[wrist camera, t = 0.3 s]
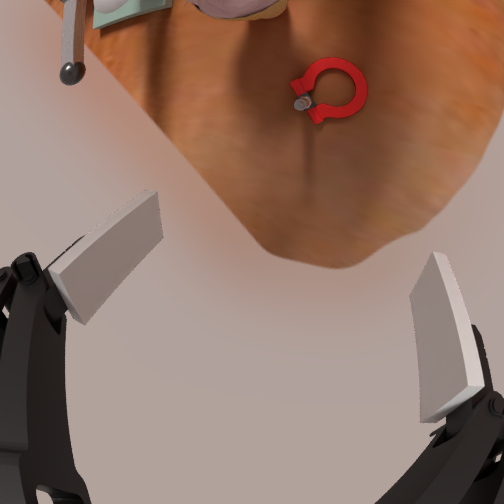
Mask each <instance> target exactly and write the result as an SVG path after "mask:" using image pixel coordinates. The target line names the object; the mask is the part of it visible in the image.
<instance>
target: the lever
mask: <svg viewBox="0 0 504 504" xmlns="http://www.w3.org/2000/svg"><path fill="white" fill-rule="evenodd" d="M61 1H62V2H63V3H65V6H64V15H63V29H62V50H61V52H62V53H61V65H62V66H61V70H60V80H61V82H62V83H64V84H65V85H74V84H77V83H78V82H79V81H81V80H82V78H83V77H84V74H85V71H86V68H85V65H84V30H85V16H86V5H87V0H61Z"/></svg>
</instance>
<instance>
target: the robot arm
mask: <svg viewBox="0 0 504 504" xmlns="http://www.w3.org/2000/svg"><path fill="white" fill-rule="evenodd" d="M162 239H163V232H162V224H161V217H160V209H159V201H158V192H157V191H150V190H145V191H143V192H142V193H140V194H139V195H137V196H136V197H135V198H133V199H132V200H130V201H129V202H128V203H126V204H125V205H124V206H122V207H121V208H120V209H118V210H117V211H116V212H114V213H113V214H112V215H110V216H109V217H108V218H107V219H105V220H104V221H103V222H101V223H100V224H99V225H98V226H96V227H95V228H94V229H93V230H92V231H90V232H89V233H88V234H86V235H85V236H82V237H81V238H79V239H78V240H77V241H75V242H74V243H73V244H72V246H70V247H68V248H67V249H66V251H65V252H63V253H62V254H61V255H60V256H58V257H57V258H56V259H55V260H54V261H53V262H52V263H51V264H49V265H48V266H47V267H46V268H45V269H44V270H43V271H42V269H41V267H40V264H39V263H38V260H37V258H36V255H35V254H34V253H32V252H27V253H24V254H22V255H20V256H19V257H17V258H16V259H15V260H14V261H13V262H12V264H11V267H3V268H2V269H0V504H38V500H37V496H36V489H37V490H40V491H44V492H46V493H48V494H49V495H50V497H51V498H52V501H53V504H91V501H90V497H89V494H88V490H87V487H86V484H85V482H84V480H83V478H82V477H81V476H80V475H79V474H78V472H77V470H76V468H75V465H74V459H73V454H72V448H71V441H70V435H69V426H68V419H67V418H68V417H67V405H66V390H65V340H66V322H67V319H66V315H65V314H64V313H65V312H66V311H67V310H69V312H70V314H71V316H72V317H73V319H75V320H76V321H78V322H80V323H82V324H83V325H86V323H87V322H88V321H89V320H90V319H91V317H92V316H93V315H94V314H95V313H96V311H97V310H98V309H99V308H100V307H101V305H102V304H103V303H104V302H105V301H106V299H107V298H108V297H109V296H110V295H111V294H112V293H113V292H114V290H115V289H116V288H117V287H118V286H119V285H120V284H121V283H122V281H123V280H124V279H125V278H126V277H127V276H128V275H129V274H130V273H131V271H132V270H133V269H134V268H135V267H136V266H137V265H138V264H139V263H140V262H141V260H143V259H144V257H145V256H146V255H147V254H148V253H149V252H150V251H151V250H152V249H153V248H154V247H155V246H156V245H157V244H158V243H159V242H160V241H161V240H162ZM410 302H411V308H412V315H413V321H414V328H415V336H416V346H417V356H418V369H419V387H420V423H437V422H438V421H440V420H441V419H443V418H444V417H446V424H445V425H443V426H441V427H440V428H438V429H437V430H435V431H433V432H432V433H431V434H430V437H431V436H433V435H435V434H436V436H435V437H434V438H433V440H432V441H431V442H430V444H429V445H428V446H427V448H426V449H425V450H424V451H423V453H422V454H421V455H420V456H419V457H418V459H417V460H416V461H415V462H414V463H413V465H412V466H411V467H410V468H409V469H408V470H407V471H406V473H405V474H404V475H403V476H402V477H401V478H400V479H399V480H398V481H397V482H396V483H395V484H394V485H393V486H392V487H391V488H390V489H389V490H388V491H387V493H385V494H384V495H383V496H382V497H381V498H380V499H379V500H378V501H377V502H376V503H375V504H504V398H503V397H502V395H501V394H499V393H498V392H497V391H494V390H493V385H492V380H491V375H490V369H489V364H488V360H487V358H486V352H485V349H484V344H483V340H482V336H481V334H480V333H479V331H478V329H477V327H476V326H475V325H472V324H471V323H470V320H469V317H468V313H467V310H466V307H465V304H464V301H463V298H462V295H461V292H460V290H459V287H458V284H457V281H456V279H455V276H454V274H453V271H452V269H451V266H450V264H449V261H448V259H447V257H446V255H445V254H442V253H438V252H435V251H432V253H431V255H430V257H429V259H428V261H427V263H426V265H425V267H424V269H423V271H422V273H421V275H420V277H419V279H418V281H417V283H416V284H415V286H414V288H413V290H412V292H411V294H410ZM4 306H5V307H6V309H7V310H8V312H9V313H10V314H9V318H6V316H5V315H4V313H3V312H2V310H3V307H4ZM500 454H502V456H501V459H500V461H498V462H495V460H496V456H498V455H500Z"/></svg>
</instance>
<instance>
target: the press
mask: <svg viewBox="0 0 504 504" xmlns="http://www.w3.org/2000/svg"><path fill="white" fill-rule="evenodd" d="M93 1H94V6H95V7H94V18H93V29H102V28H104V27H107V26H110V25H112V24H115V23H118V22H121V21H124V20H127V19H130V18H133V17H136V16H139V15H143V14H146V13H150V12H153V11H157V10H161V9H165V8H170V7H172V1H173V0H93Z"/></svg>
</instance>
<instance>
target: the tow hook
mask: <svg viewBox="0 0 504 504" xmlns="http://www.w3.org/2000/svg"><path fill="white" fill-rule="evenodd" d="M330 68H336V69H340V70H343V71H344V72H346V73H347V74H349V75H350V76H351V78H352V79H353V81H354V83H355V89H356V91H355V96H354V97H353V99H352V101H351V102H349V103H348V104H346V105H344V106H341V107H332V106H329V105H327V104H325V103H321V104H319V105H317V106H316V104H315V102H314V101H313V99H312V97H311V96H310V94H309V93H308V91H310V90H312V89H313V88H314V83H315V79H316V77H317V75H318V74H319V73H321V72H322V71H324V70H326V69H330ZM289 84H290V85H291V87H292V88H293V90H294V91H295V93H296V94H297V96H298V97H297V100H296V101H295V103H294V107H295V109H297V110H304V111H307V112H308V114H309V115H310V117H311V119H312V120H313V122H314V124H318V123H320V122H322V121H323V120H324V118H326V117H332V118H343V117H348V116H350V115H352V114H354V113H356V112H357V111H358V110H359V109H360V108H362V106H363V104H364V103H365V101H366V97H367V84H366V81H365V78H364V76H363V75H362V73H361V72H360V70H359V69H358V68H357V67H356V66H355V65H353V64H352V63H350V62H348V61H346V60H344V59H340V58H329V57H328V58H324V59H320V60H318V61H316V62H315V63H313V64H312V65H311V66H310V67H309V68H308V69H307V71H306V73H305V74H304V77H302V78H300V79H295V80H293V81H291V82H290V83H289Z"/></svg>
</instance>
